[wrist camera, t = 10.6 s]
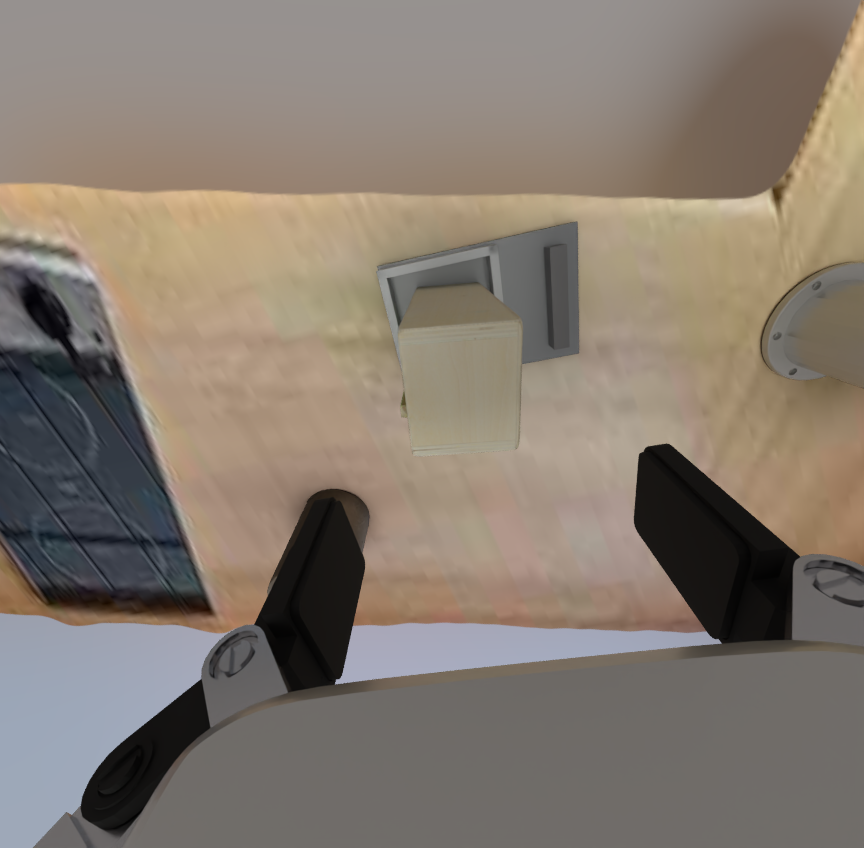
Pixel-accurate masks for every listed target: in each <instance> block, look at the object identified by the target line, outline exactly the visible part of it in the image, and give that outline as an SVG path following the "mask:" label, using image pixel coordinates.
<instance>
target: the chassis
mask: <svg viewBox="0 0 864 848" xmlns="http://www.w3.org/2000/svg"><path fill="white" fill-rule="evenodd" d="M377 268H378V271H376V272H377V276H378V280H379V284H380V288H381V292H382V296H383V300H384V304H385V308H386V312H387V315H388V319H389V323H390V327H391V331H392V335H393V339H394V343H395V347H396V351H397V355H398V359H399V363H400V367H401V361H400V352H399V344H398V328H399V326H400V324H401V321H402V319H403V317H404V315H405V313H406V310H407V308H408V306H409V304H410V302H411V299H412V297H413V295H414V293H415V290H416V288H418V287H426V286H438V285H449V284H461V283H473V282H479V283H480V284H481V285H483V286H484V287H485V288H486V289H487V290H488V291H490V292H491V293H492V294H493V295H494V296H495V297H496V298H498V299H499V300H500V301H501V302H503V303H504V304H505V305H506V306H508V307H509V308H510V309H511V310H512V311H514V312H515V313H516V314H517V315H518V316H519V317H520V318H521V319H522V324H523V345H522V364H525V363H531V362H536V361H541V360H546V359H551V358H557V357H562V356H567V355H572V354H578V353H579V302H578V222H572V223H567V224H563V225H558V226H554V227H549V228H545V229H541V230H536V231H532V232H527V233H523V234H518V235H514V236H509V237H505V238H501V239H496V240H492V241H487V242H483V243H478V244H474V245H469V246H465V247H461V248H456V249H452V250H447V251H443V252H438V253H434V254H429V255H425V256H421V257H416V258H412V259H407V260H403V261H398V262H394V263H389V264H385V265H381V266H377ZM401 371H402V369H401Z"/></svg>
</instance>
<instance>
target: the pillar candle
mask: <svg viewBox="0 0 864 848" xmlns="http://www.w3.org/2000/svg"><path fill="white" fill-rule="evenodd" d="M330 497H334V498H335V499H336V501H341V503H342V505H343V507H344V510H345V512H346V515H347V517H348V520H349V522H350V525H351V527H352V530H353V532H354V534H355V537H356V539H357V542H358V544H359V547H360V549H361V552H363V548H364V543H365V538H366V534H367V529H368V526H369V518H370V517H369V511H368V509H367V507H366V505H365V504H364V503H363V502H362V501H361V500H360V499H359V498H358V497H356V496H354V495H352V494H350V493H347V492H344V491H341V490H333V489H331V490H325V491H321V492H318V493H316V494H315V495H313V496H312V497H310V498H309V499H308V501H307V504H306V506H305V508H304V511H303V512H302V514H301V516H300V519H299V521H298V523H297V525H296V527H295V530H294V532H293V534H292V536H291V538H290V540H289V542H288V544H287V547H286V549H285V551H284V553H283V555H282V558H281V560H280V562H279V564H278V566H277V568H276V570H275V572H274V575H273V577H272V579H271V581H270V584H269V587H268V591H267V593H268V595H269V593H270V590H271V588H272V586H273V584H274V582H275V580H276V578H277V576H278V574H279V571H280V569H281V567H282V565H283V563H284V561H285V559H286V557H287V555H288V552H289V550H290V549H291V547H292V546H293V545H294V543H295V541H296V539H297V537H298V534H299V532H300V530H301V528H302V526H303V524H304V522H305V519H306V517H307V515H308V513H309V511H310V509H311V507H312V505H313V502H314V501H315V500H317V499H323V498H330Z"/></svg>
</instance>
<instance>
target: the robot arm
mask: <svg viewBox="0 0 864 848" xmlns="http://www.w3.org/2000/svg"><path fill="white" fill-rule="evenodd" d="M762 353H763V358H764V360H765V362H766V364H767V365H768V367H769V368H770V369H771V370H772V371H774V372H775V373H777V374H779V375H781V376H784V377H786V378H789V379H794V380H812V379H818V378H822V377H825V376H829V377H832V378H835V379H838V380H841V381H844V382H846V383H849V384H852V385H855V386H858V387H861V388H864V263H844V264H839V265H834V266H832V267H829V268H826V269H824V270H821V271H819V272H818V273H816V274H814V275H812V276H810V277H808V278H807V279H806V280H804V281H803V282H801V283H800V284H799V285H797V286H796V287H795V288H794V289H793V290H792V291H791V292H790V293H788V294H787V295H786V297H785V298H784V299H783V300H782V301H781V302H780V304H779V305H778V306H777V307H776V309H775V310H774V312H773V313H772V315H771V317H770V319H769V321H768V323H767V325H766V327H765V330H764V334H763V338H762ZM634 524H635V528H636V530H637V532H638V533H639V535H640V536H641V538H642V539H643V541H644V542H645V543H646V545H647V546H648V548H649V549H650V551H651V552H652V553H653V555H654V556H655V558H656V559H657V561H658V562H659V564H660V565H661V566H662V568H663V569H664V571H665V572H666V574H667V575H668V576H669V578H670V579H671V581H672V582H673V584H674V585H675V586H676V588H677V589H678V591H679V592H680V594H681V595H682V597H683V598H684V599H685V601H686V602H687V604H688V605H689V607H690V608H691V609H692V611H693V612H694V614H695V615H696V617H697V618H698V620H699V621H700V622H701V624H702V625H703V627H704V628H705V630H706V631H707V632H708V634H709V635H710V636H711V637H712V638H714V639H719V640H720V641H721V643H722V644H713V645H701V646H689V647H679V648H668V649H658V650H648V651H638V652H628V653H618V654H608V655H598V656H588V657H578V658H568V659H559V660H550V661H539V662H530V663H520V664H511V665H501V666H493V667H483V668H474V669H464V670H455V671H446V672H437V673H428V674H419V675H410V676H401V677H392V678H383V679H374V680H367V681H359V682H352V683H344V684H336V685H335V682H336V679H340V678H341V676H342V673H343V668H344V664H345V659H346V655H347V650H348V645H349V640H350V636H351V631H352V627H353V622H354V617H355V613H356V608H357V603H358V599H359V594H360V590H361V585H362V580H363V576H364V571H365V560H364V557H363V554H362V552H361V549H360V547H359V544H358V542H357V539H356V537H355V534H354V532H353V530H352V527H351V525H350V522H349V520H348V517H347V515H346V512H345V510H344V507H343V505H342V503H341V501H336V499H335V498H334V497H330V498H323V499H317V500H315V501H314V502H313V505H312V507H311V509H310V511H309V513H308V515H307V517H306V519H305V522H304V524H303V526H302V528H301V530H300V532H299V534H298V537H297V539H296V541H295V543H294V545H293V546H292V547H291V549H290V550H289V552H288V555H287V557H286V559H285V561H284V563H283V565H282V567H281V569H280V571H279V574H278V576H277V578H276V580H275V582H274V584H273V586H272V588H271V590H270V593H269V595H268V597H267V599H266V601H265V603H264V605H263V607H262V610H261V612H260V614H259V616H258V618H257V620H256V622H255V624H254V625H245V626H242V627H239V628H236V629H235V630H233V631H231V632H230V633H228V634H227V635H225V636H224V637H223V638H222V639H221V640H219V641H218V643H217V644H216V645H215V646H214V647H213V648H212V649H211V651H210V653H209V654H208V656H207V657H206V659H205V661H204V664H203V667H202V676H201V677H202V679H201V680H200V681H198V682H197V683H196V684H195V685H193V686H192V687H191V688H189V689H188V690H187V691H186V692H184V693H183V694H182V695H181V696H179V697H178V698H177V699H176V700H174V701H173V702H172V703H171V704H170V705H168V706H167V707H166V708H164V709H163V710H162V711H161V712H159V713H158V714H157V715H156V716H154V717H153V718H152V719H151V720H149V721H148V722H147V723H146V724H144V725H143V726H142V727H141V728H139V729H138V730H137V731H136V732H134V733H133V734H132V735H131V736H129V737H128V738H127V739H126V740H125V741H123V742H122V743H121V744H120V745H119V746H117V747H116V748H115V749H114V750H113V751H112V752H111V753H110V754H109V755H108V756H107V757H106V758H105V760H104V761H103V762H102V763H101V765H100V766H99V767H98V768H97V770H96V772H95V773H94V774H93V776H92V778H91V779H90V781H89V783H88V785H87V787H86V789H85V792H84V794H83V797H82V802H81V806H80V807H79V808H78V809H77V810H76V811H75V812H74V814H73V815H71V814H69V813H67V812H66V813H65V814H64V815H63V816H62V817H61V818H60V820H59V821H58V822H57V823H56V824H55V825H54V826H53V827H52V828H51V829H50V830H49V831H48V832H47V833H46V834H45V836H44V837H43V838H42V839H41V840H40V841H39V842H38V843H37V844H36V845H35V846H34V847H33V848H864V567H863V566H861V565H859V564H857V563H855V562H852V561H849V560H846V559H843V558H840V557H835V556H830V555H825V554H810V555H805V556H801V557H800V556H799V555H798V554H796V553H795V552H794V551H793V550H792V549H791V548H790V547H788V546H787V545H786V544H785V543H784V542H783V541H781V540H780V539H779V538H778V537H777V536H776V535H774V534H773V533H772V532H771V531H770V530H769V529H768V528H766V527H765V526H764V525H763V524H762V523H761V522H759V521H758V520H757V519H756V518H755V517H754V516H752V515H751V514H750V513H749V512H748V511H747V510H746V509H744V508H743V507H742V506H741V505H740V504H739V503H737V502H736V501H735V500H734V499H733V498H732V497H730V496H729V495H728V494H727V493H726V492H725V491H724V490H722V489H721V488H720V487H719V486H718V485H716V484H715V483H714V482H713V481H712V480H711V479H710V478H708V477H707V476H706V475H705V474H704V473H703V472H701V471H700V470H699V469H698V468H697V467H696V466H694V465H693V464H692V463H691V462H690V461H689V460H688V459H686V458H685V457H684V456H683V455H682V454H681V453H679V452H678V451H677V450H676V449H675V448H674V447H672V446H671V445H670V444H661V445H655V446H649V447H646V448H645V450H644V452H642V453H640V454H639V459H638V472H637V485H636V498H635V511H634Z"/></svg>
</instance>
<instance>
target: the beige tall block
mask: <svg viewBox="0 0 864 848" xmlns="http://www.w3.org/2000/svg"><path fill="white" fill-rule="evenodd" d="M398 344H399V352H400V361H401V369H402V377H403V385H404V392H403V397H402V402H401V417H408V425H409V433H410V441H411V448H412V453H413V455H414V456H435V455H449V454H464V453H480V452H495V451H509V450H514V449H517V448H518V445H519V439H520V410H521V375H522V345H523V324H522V319H521V318H520V317H519V316H518V315H517V314H516V313H515V312H514V311H512V310H511V309H510V308H509V307H508V306H506V305H505V304H504V303H503V302H501V301H500V300H499V299H498V298H496V297H495V296H494V295H493V294H492V293H491V292H490V291H488V290H487V289H486V288H485V287H484V286H483V285H481V284H480V283H479V282H473V283H461V284H449V285H438V286H426V287H418V288H416V290H415V293H414V295H413V297H412V299H411V302H410V304H409V306H408V308H407V310H406V313H405V315H404V317H403V319H402V321H401V324H400V326H399V328H398Z"/></svg>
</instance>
